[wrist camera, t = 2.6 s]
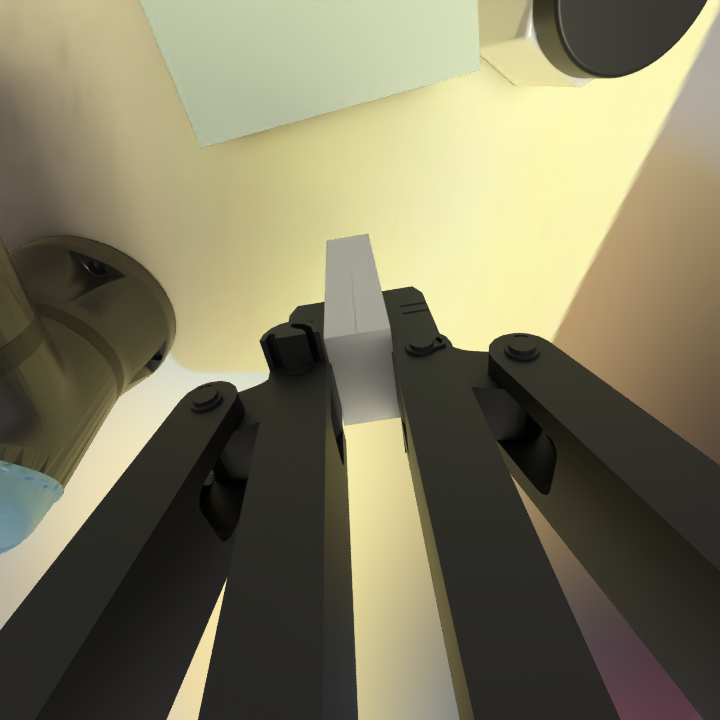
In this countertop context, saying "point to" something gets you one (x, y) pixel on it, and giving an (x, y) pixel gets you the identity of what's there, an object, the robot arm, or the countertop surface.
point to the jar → (579, 37)
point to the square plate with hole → (304, 56)
